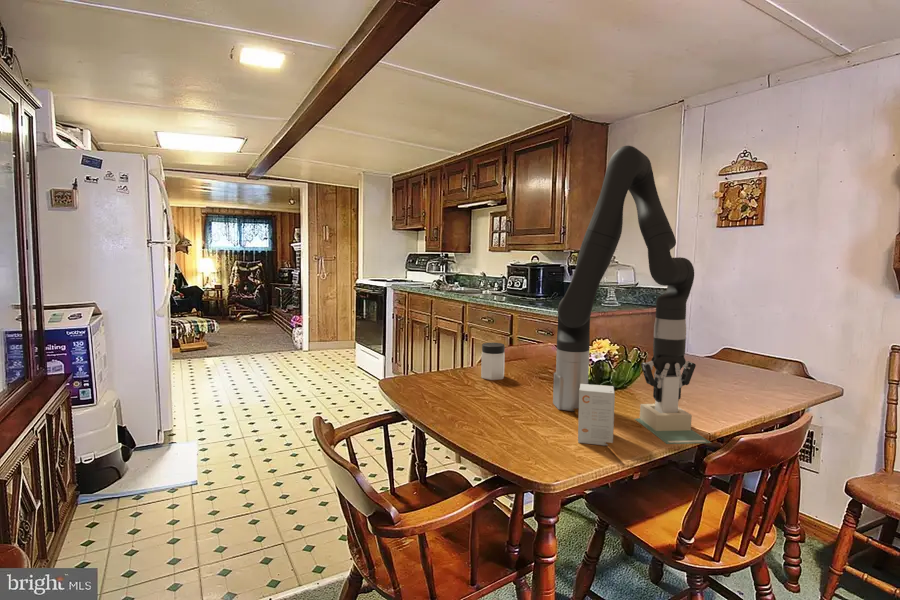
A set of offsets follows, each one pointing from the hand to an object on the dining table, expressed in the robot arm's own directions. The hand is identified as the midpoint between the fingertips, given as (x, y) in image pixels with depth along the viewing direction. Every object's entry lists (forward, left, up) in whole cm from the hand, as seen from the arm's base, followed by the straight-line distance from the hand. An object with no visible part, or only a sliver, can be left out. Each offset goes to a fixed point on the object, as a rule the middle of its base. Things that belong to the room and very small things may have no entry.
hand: (666, 400), depth 125 cm
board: (-1, -4, -7) cm, 8 cm away
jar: (-37, +52, -7) cm, 64 cm away
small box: (-21, -7, -7) cm, 24 cm away
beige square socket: (0, 0, -6) cm, 6 cm away
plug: (0, 0, -3) cm, 3 cm away
